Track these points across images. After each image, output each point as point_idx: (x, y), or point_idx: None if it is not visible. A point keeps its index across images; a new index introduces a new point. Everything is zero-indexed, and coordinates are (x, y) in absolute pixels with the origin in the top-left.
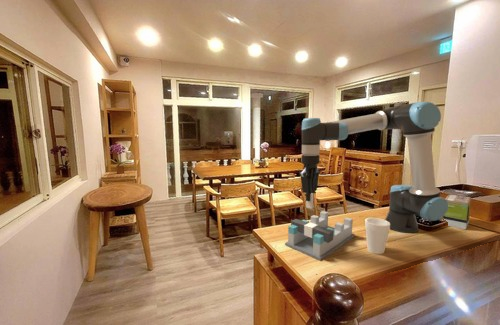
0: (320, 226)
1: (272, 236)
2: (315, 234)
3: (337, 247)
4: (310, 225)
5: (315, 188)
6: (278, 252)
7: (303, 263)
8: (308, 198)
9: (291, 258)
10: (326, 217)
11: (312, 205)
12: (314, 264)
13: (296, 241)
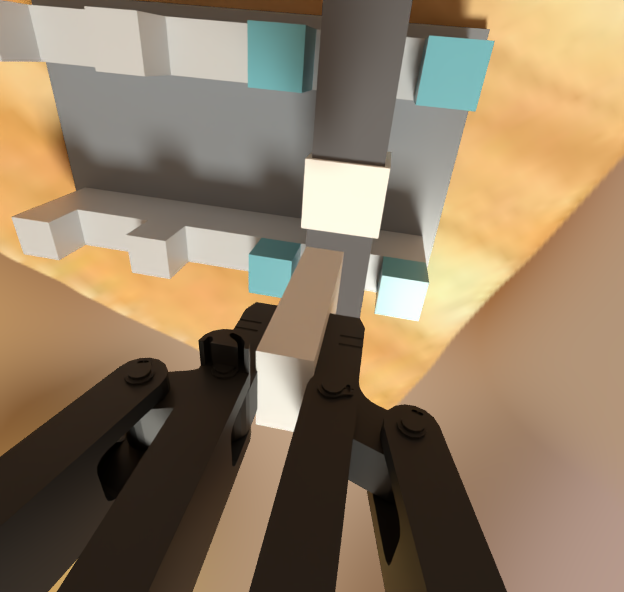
0: (148, 206)
1: (376, 356)
2: (444, 107)
3: (269, 12)
4: (354, 199)
5: (146, 397)
6: (516, 265)
7: (568, 101)
8: (362, 347)
9: (544, 183)
10: (56, 209)
11: (314, 262)
12: (548, 38)
13: (394, 237)
